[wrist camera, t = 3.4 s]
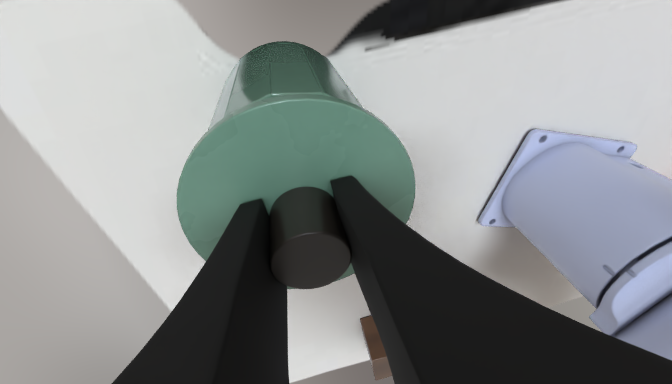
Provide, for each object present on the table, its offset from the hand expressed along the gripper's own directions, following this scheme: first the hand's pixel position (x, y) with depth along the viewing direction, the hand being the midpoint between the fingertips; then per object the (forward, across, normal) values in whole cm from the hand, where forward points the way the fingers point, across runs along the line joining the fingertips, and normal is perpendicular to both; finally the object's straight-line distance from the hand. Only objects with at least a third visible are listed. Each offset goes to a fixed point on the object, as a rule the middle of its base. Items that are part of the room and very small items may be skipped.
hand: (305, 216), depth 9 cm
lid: (+1, 0, 0) cm, 1 cm away
